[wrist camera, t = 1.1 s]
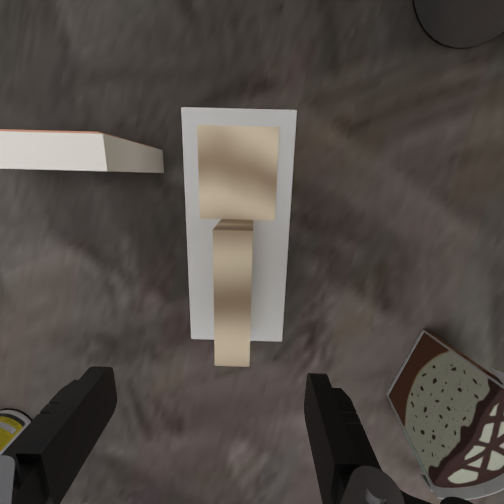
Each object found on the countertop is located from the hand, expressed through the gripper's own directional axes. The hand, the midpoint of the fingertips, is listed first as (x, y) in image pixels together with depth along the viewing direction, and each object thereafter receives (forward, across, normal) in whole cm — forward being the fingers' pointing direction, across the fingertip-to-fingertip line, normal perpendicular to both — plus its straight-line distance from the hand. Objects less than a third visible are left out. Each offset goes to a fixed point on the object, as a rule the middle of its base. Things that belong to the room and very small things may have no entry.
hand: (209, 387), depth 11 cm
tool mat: (+17, 0, -2) cm, 17 cm away
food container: (+17, -22, +12) cm, 31 cm away
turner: (+16, 0, -2) cm, 17 cm away
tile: (+17, +13, -10) cm, 23 cm away
